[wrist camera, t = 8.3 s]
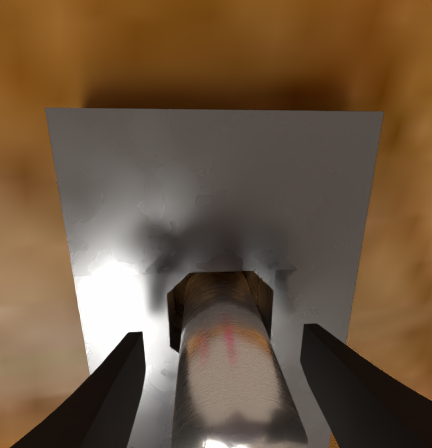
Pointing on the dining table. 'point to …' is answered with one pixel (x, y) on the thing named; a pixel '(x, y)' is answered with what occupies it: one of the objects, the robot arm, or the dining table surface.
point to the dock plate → (212, 229)
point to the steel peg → (229, 372)
